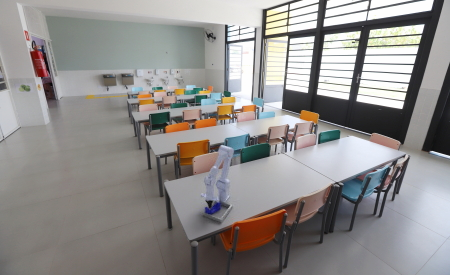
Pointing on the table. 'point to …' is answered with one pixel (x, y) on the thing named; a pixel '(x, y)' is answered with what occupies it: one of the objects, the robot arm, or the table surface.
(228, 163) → the robot arm
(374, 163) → the table surface
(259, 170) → the table surface
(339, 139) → the table surface
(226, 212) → the bracket
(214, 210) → the cable clip
